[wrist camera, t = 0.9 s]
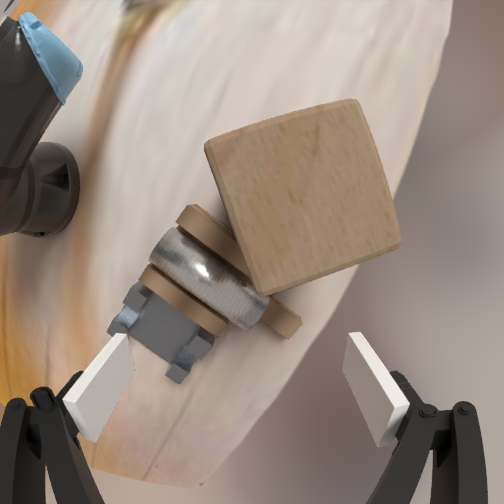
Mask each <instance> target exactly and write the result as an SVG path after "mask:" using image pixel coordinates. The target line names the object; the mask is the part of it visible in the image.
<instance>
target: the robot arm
mask: <svg viewBox="0 0 504 504" xmlns="http://www.w3.org/2000/svg"><path fill="white" fill-rule="evenodd" d="M82 72H83V66H82V63H81V61H80V60H79V59H78V58H77V57H76V55H75V54H74V53H73V52H72V51H71V50H70V49H69V48H68V47H67V46H66V45H65V44H64V43H63V42H62V41H61V40H60V39H59V38H58V37H57V36H56V35H54V34H53V33H52V32H51V31H50V30H49V29H48V28H47V27H46V26H45V25H43V23H42V22H40V21H39V20H38V19H37V18H36V17H35V16H34V15H33V14H32V13H31V12H25V13H24V14H23V15H21V16H19V18H18V21H15V20H13V19H11V18H10V17H8V16H6V15H5V16H2V17H0V236H2V235H6V234H9V233H13V232H18V233H22V234H26V235H30V236H34V237H46V236H50V235H54V234H57V233H58V232H60V231H61V230H63V229H64V228H65V227H66V225H67V224H68V223H69V221H70V220H71V218H72V216H73V214H74V212H75V209H76V206H77V202H78V197H79V188H80V180H79V172H78V167H77V164H76V161H75V159H74V157H73V155H72V154H71V152H70V151H69V150H68V149H67V148H66V147H64V146H63V145H61V144H57V143H52V142H42V143H38V142H39V140H40V139H41V137H42V135H43V134H44V132H45V131H46V129H47V127H48V126H49V124H50V123H51V121H52V120H53V118H54V117H55V115H56V114H57V112H58V111H59V109H60V108H61V106H62V105H63V106H64V104H65V103H66V99H67V97H68V96H69V94H70V93H71V91H72V90H73V88H74V87H75V85H76V84H77V83H78V81H79V80H80V78H81V76H82ZM135 371H136V369H135V365H134V361H133V358H132V354H131V350H130V345H129V341H128V337H127V334H121V333H116V334H115V335H114V336H113V337H112V339H111V340H110V341H109V342H108V343H107V344H106V346H105V347H104V348H103V349H102V350H101V352H100V353H99V354H98V355H97V356H96V358H95V359H94V360H93V361H92V363H91V364H90V365H89V366H88V367H87V369H86V370H85V371H79V372H77V373H76V374H74V375H73V376H72V378H71V379H70V380H69V382H67V384H66V386H64V387H63V388H62V390H61V391H60V392H59V393H58V395H57V396H56V397H55V396H54V394H53V392H52V390H51V389H50V388H49V387H39V388H36V389H35V390H33V391H32V392H31V394H30V399H31V400H32V402H33V404H34V406H35V407H34V406H27V404H26V402H25V400H24V399H22V398H14V399H12V400H10V401H9V402H8V403H7V405H6V409H5V412H4V415H3V419H2V422H1V426H0V504H46V498H45V466H47V470H48V474H49V478H50V481H51V485H52V489H53V492H54V495H55V498H56V501H57V504H105V503H104V501H103V499H102V497H101V495H100V493H99V491H98V488H97V486H96V484H95V482H94V479H93V477H92V475H91V472H90V470H89V467H88V465H87V462H86V459H85V457H84V454H83V451H82V448H81V446H80V443H79V440H78V438H77V437H76V436H77V434H78V432H80V434H81V435H82V437H83V439H86V440H89V441H92V442H96V441H97V440H98V438H99V436H100V434H101V432H102V430H103V428H104V426H105V425H106V423H107V421H108V419H109V417H110V415H111V414H112V412H113V410H114V408H115V406H116V405H117V403H118V401H119V399H120V397H121V396H122V394H123V392H124V390H125V388H126V387H127V385H128V383H129V381H130V380H131V378H132V376H133V374H134V373H135ZM342 371H343V373H344V375H345V377H346V379H347V381H348V384H349V386H350V388H351V390H352V392H353V394H354V396H355V398H356V401H357V403H358V405H359V407H360V409H361V412H362V414H363V416H364V418H365V421H366V423H367V425H368V427H369V429H370V431H371V434H372V436H373V438H374V441H375V443H376V445H377V447H381V446H384V445H388V444H392V442H393V440H394V438H395V436H396V438H397V439H398V441H399V442H398V444H397V446H396V447H395V449H394V451H393V453H392V457H391V459H390V461H389V463H388V465H387V467H386V469H385V471H384V473H383V475H382V477H381V478H380V480H379V482H378V484H377V486H376V487H375V489H374V491H373V493H372V494H371V496H370V498H369V499H368V501H367V503H366V504H409V503H410V501H411V499H412V497H413V494H414V492H415V489H416V487H417V485H418V482H419V479H420V477H421V474H422V472H423V469H424V466H425V463H426V460H427V457H428V454H429V451H430V450H433V470H432V488H431V498H430V504H488V490H487V475H486V465H485V457H484V450H483V443H482V437H481V431H480V426H479V422H478V417H477V412H476V409H475V407H474V405H472V404H471V403H469V402H466V401H461V402H458V403H456V404H455V405H454V407H453V409H452V410H445V411H438V409H437V408H436V407H435V406H433V405H430V404H424V403H423V402H422V400H421V399H420V397H419V396H418V395H417V393H416V392H415V390H414V389H413V388H412V387H411V385H410V383H408V381H407V379H406V378H405V377H404V375H402V374H401V373H399V372H398V371H392V372H388V370H387V369H386V368H385V366H384V365H383V363H382V362H381V360H380V359H379V358H378V356H377V355H376V353H375V352H374V350H373V349H372V348H371V346H370V345H369V343H368V342H367V341H366V339H365V338H364V336H363V335H362V334H361V332H354V333H348V339H347V346H346V351H345V357H344V363H343V369H342Z"/></svg>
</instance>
